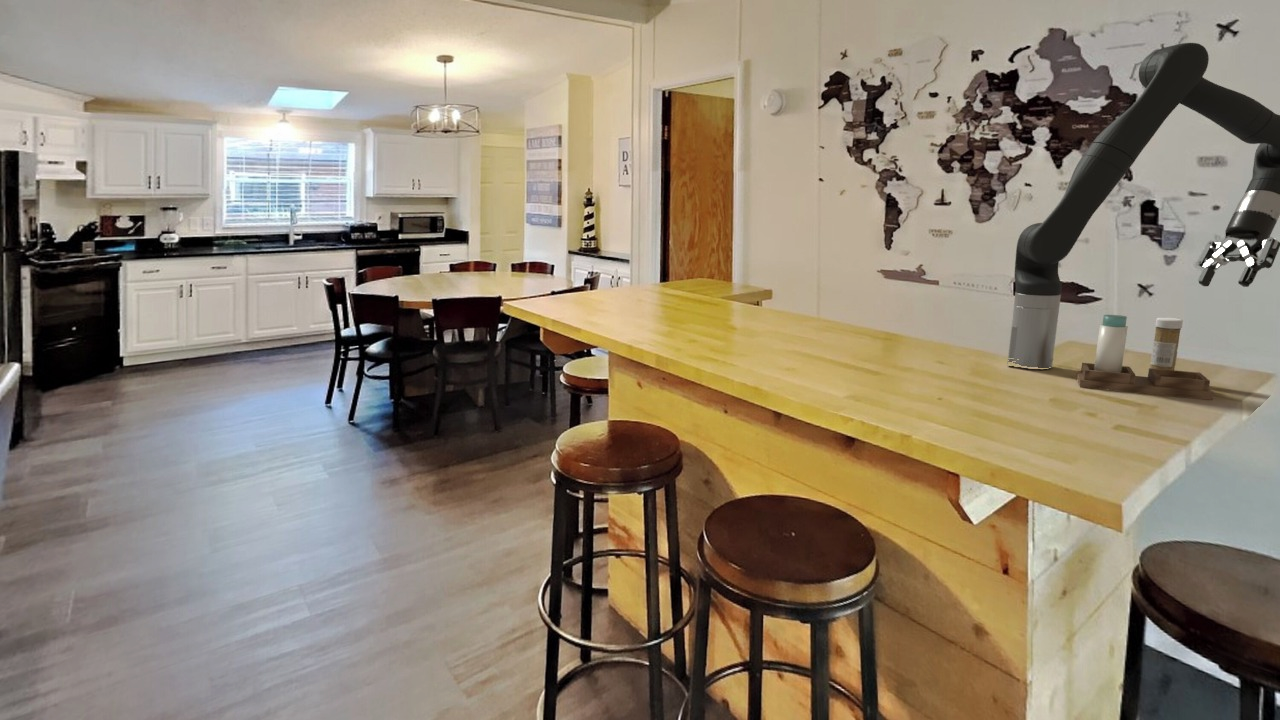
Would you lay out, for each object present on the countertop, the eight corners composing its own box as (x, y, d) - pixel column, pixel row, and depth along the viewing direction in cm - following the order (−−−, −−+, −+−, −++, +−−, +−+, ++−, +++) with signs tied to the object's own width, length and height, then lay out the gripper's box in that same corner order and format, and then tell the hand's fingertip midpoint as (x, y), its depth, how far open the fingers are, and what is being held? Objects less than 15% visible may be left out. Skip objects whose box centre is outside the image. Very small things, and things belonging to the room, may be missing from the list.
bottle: (1094, 378, 147) (1102, 316, 144) (1092, 373, 151) (1100, 313, 148) (1121, 380, 145) (1130, 318, 142) (1118, 376, 149) (1127, 315, 146)
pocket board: (1079, 387, 146) (1081, 370, 145) (1076, 377, 155) (1078, 361, 154) (1212, 400, 136) (1215, 382, 135) (1200, 388, 145) (1203, 372, 144)
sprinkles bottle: (1176, 380, 152) (1186, 318, 149) (1167, 383, 150) (1177, 320, 147) (1152, 376, 156) (1161, 316, 153) (1143, 379, 153) (1152, 318, 151)
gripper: (1210, 212, 157) (1178, 277, 157) (1279, 205, 143) (1244, 277, 144) (1233, 227, 159) (1202, 292, 159) (1303, 221, 145) (1269, 293, 145)
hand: (1222, 285), depth 151 cm, fingers open, 8 cm apart
